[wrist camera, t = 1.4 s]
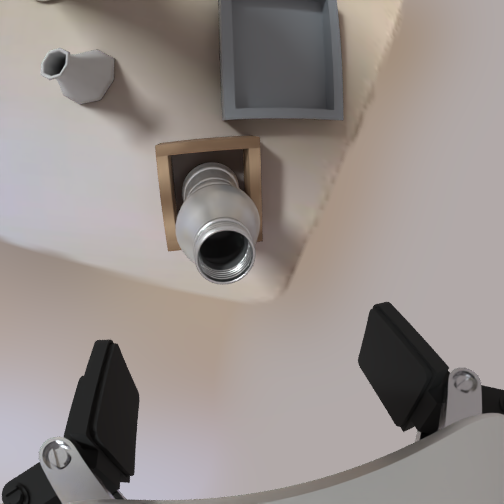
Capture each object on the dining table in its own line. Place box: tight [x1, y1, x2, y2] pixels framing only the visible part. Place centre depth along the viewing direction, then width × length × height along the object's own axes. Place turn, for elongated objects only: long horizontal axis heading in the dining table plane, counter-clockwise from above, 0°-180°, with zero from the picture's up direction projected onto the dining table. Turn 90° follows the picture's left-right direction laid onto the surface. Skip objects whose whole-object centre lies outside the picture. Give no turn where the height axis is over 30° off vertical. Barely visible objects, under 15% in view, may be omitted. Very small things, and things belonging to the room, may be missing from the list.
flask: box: [41, 48, 115, 104], centre depth 22 cm, size 7×7×10 cm
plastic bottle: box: [175, 162, 260, 284], centre depth 26 cm, size 6×7×20 cm
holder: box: [155, 135, 263, 251], centre depth 33 cm, size 12×11×4 cm
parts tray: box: [218, 0, 343, 120], centre depth 28 cm, size 18×14×3 cm
